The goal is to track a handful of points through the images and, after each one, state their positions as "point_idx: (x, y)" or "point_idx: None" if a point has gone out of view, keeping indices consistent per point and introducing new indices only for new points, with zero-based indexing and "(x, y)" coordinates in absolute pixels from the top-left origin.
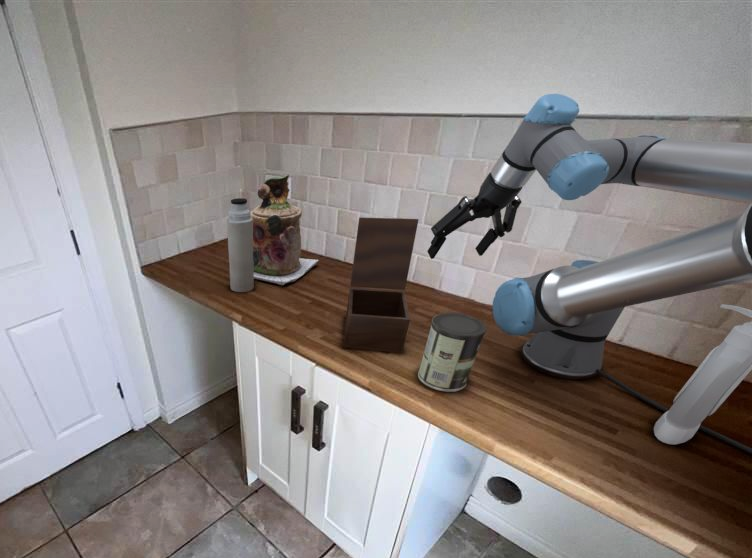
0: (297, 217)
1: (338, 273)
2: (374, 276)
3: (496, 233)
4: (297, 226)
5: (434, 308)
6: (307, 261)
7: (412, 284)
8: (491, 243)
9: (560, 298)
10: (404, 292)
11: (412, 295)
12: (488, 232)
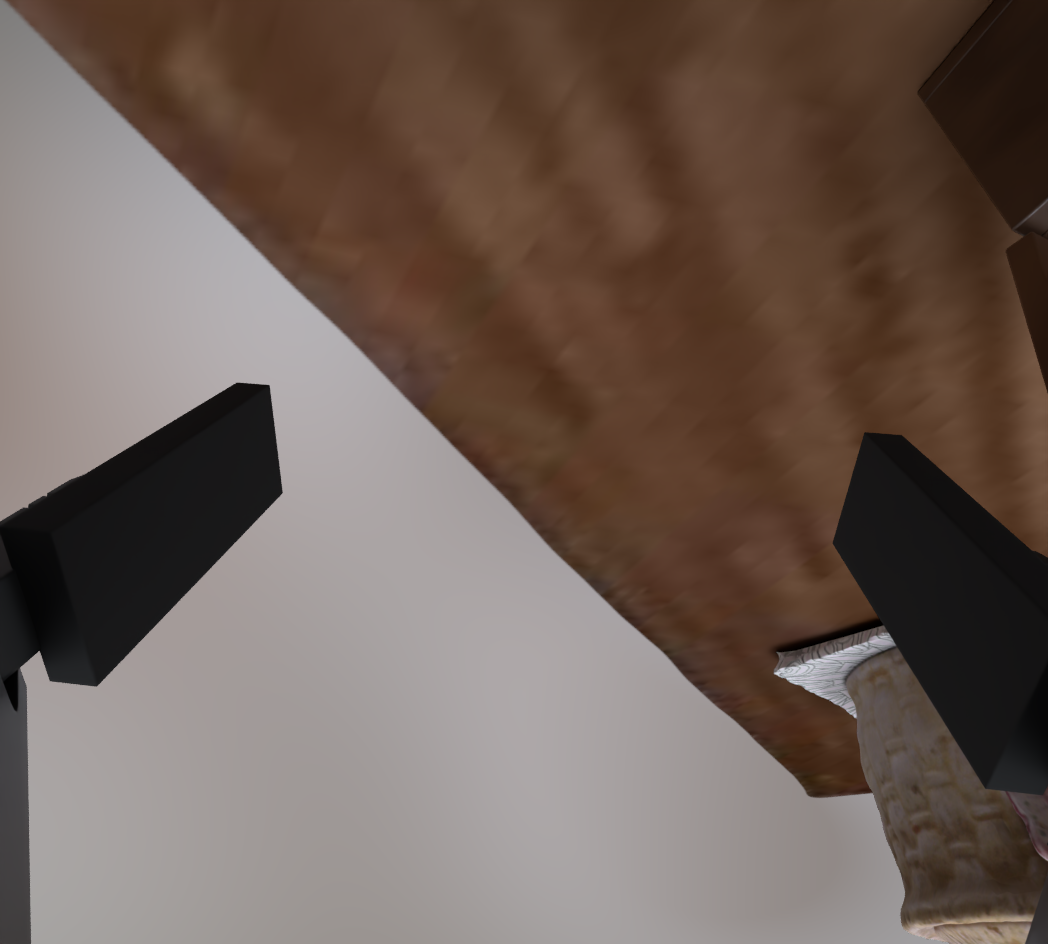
0: (1010, 902)
1: (740, 598)
2: None
3: (4, 576)
4: (967, 847)
5: (528, 221)
6: (814, 673)
7: (491, 468)
8: (115, 456)
9: None
10: (1046, 203)
11: (558, 383)
12: (130, 627)
